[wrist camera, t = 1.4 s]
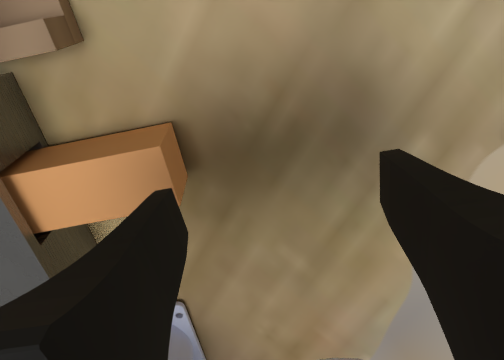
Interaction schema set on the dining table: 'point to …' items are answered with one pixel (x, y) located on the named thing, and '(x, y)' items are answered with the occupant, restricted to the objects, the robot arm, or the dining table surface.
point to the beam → (10, 218)
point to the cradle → (36, 27)
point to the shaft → (95, 177)
